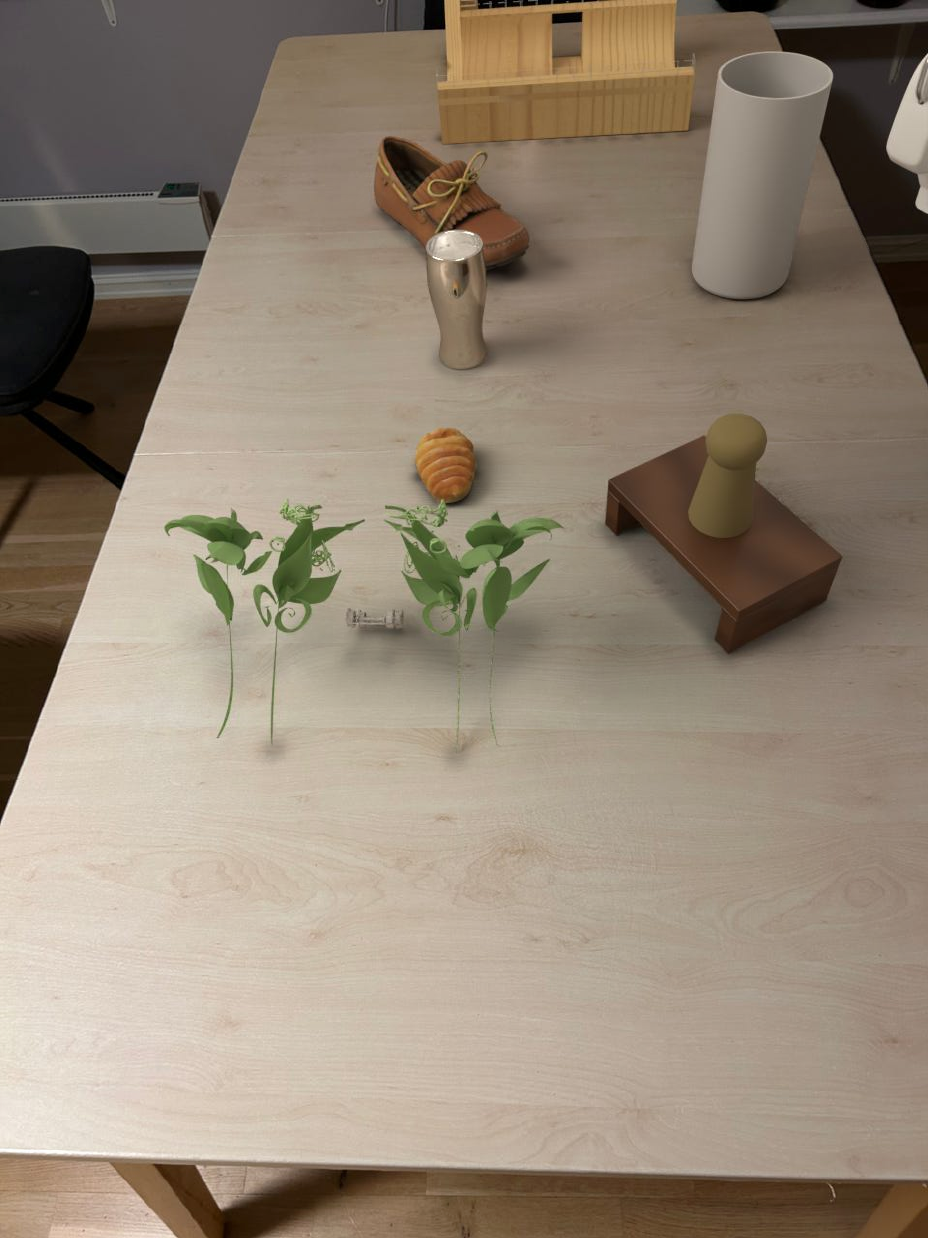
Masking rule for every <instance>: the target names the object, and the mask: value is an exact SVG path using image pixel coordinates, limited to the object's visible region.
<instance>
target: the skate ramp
mask: <svg viewBox="0 0 928 1238" xmlns="http://www.w3.org/2000/svg"><path fill="white" fill-rule="evenodd" d="M532 1H533V2H534V1H535V2H537V0H529V2H532ZM514 3H519V5H520V6H508V7H507V5H504V7H494V8H492V7H490V8H479V2H478V0H444V20H445V22H444V23H445V43H446V74H445V75H444V74H441V75H440V77H446V81H439V73H438V70H436V75H435V77H436V85H437V86H436V89H437V90H436V92H437V101H438V112H439V124H440V134H441V135H440V136H441V144H442V145H451V144H452V145H453V144H468V143H486V142H505V141H521V140H522V141H523V140H524V141H525V140H538V139H539V140H541V139H559V138H561V139H562V138H576V137H577V138H578V137H592V136H594V137H595V136H613V135H632V134H647V133H648V134H651V133H668V132H683V131H684V132H685V131H687V132H688V131H689V127H690V119H691V111H692V103H693V95H694V88H695V79H696V74H695V69H696V65H695V63H696V61H697V60H696V56H695V53H694V52H693V53H692V56H693V59H690V60H689V59H688V60H685V62H689V61H690V62H692V63H691V64H692V65H691V66H680V64H677V67H676V64H675V63H676V62H677V63H678V60H675V31H676V30H675V29H676V16H677V5H678V1H677V0H597V1H581V2H566V3H554V0H551V2H550V4H535V5H524V6H523V5H522V0H518V1H514ZM499 4H506V1H501V2H499ZM484 5H491V2H486V3H484ZM566 13H567V14H569V13H581V40H580V41H581V43H580V44H581V46H580V55H579V56H577V55H576V56H562V57H561V56H559V57H553V14H566Z"/></svg>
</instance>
